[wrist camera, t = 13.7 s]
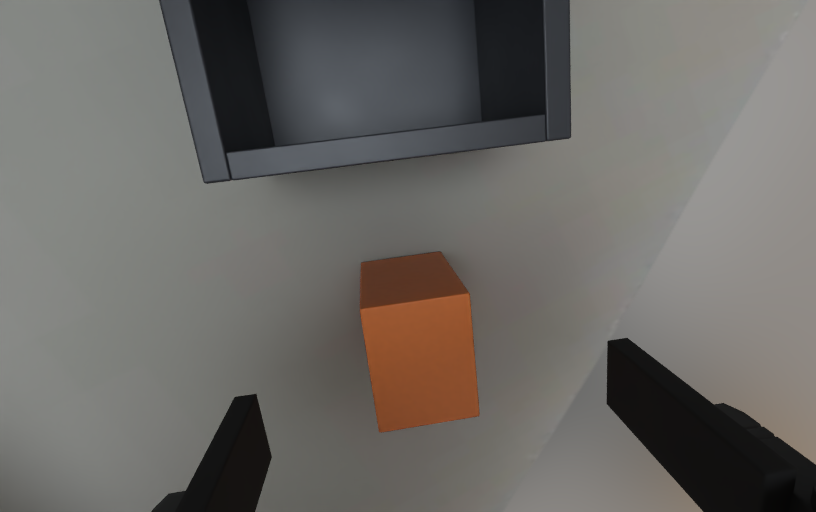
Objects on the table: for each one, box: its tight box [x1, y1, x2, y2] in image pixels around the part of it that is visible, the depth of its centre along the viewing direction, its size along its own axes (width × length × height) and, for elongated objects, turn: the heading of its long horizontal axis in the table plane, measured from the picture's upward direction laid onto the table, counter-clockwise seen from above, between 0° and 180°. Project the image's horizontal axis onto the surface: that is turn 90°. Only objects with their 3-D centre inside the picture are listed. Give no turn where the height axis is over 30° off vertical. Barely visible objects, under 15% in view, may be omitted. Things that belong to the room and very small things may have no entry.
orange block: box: [360, 252, 480, 432], centre depth 22 cm, size 6×5×7 cm
